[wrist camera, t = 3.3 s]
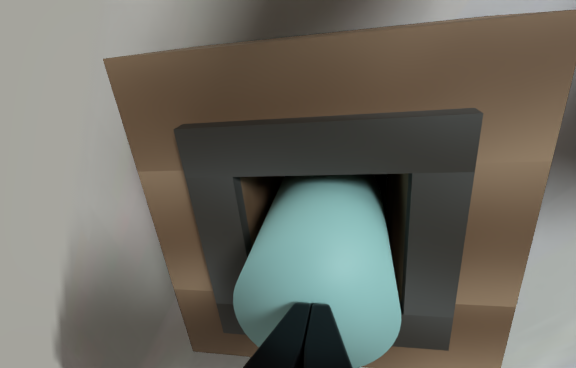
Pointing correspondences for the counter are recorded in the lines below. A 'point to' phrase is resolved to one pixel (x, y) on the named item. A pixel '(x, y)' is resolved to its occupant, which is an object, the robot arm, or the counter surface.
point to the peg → (324, 263)
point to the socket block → (359, 162)
